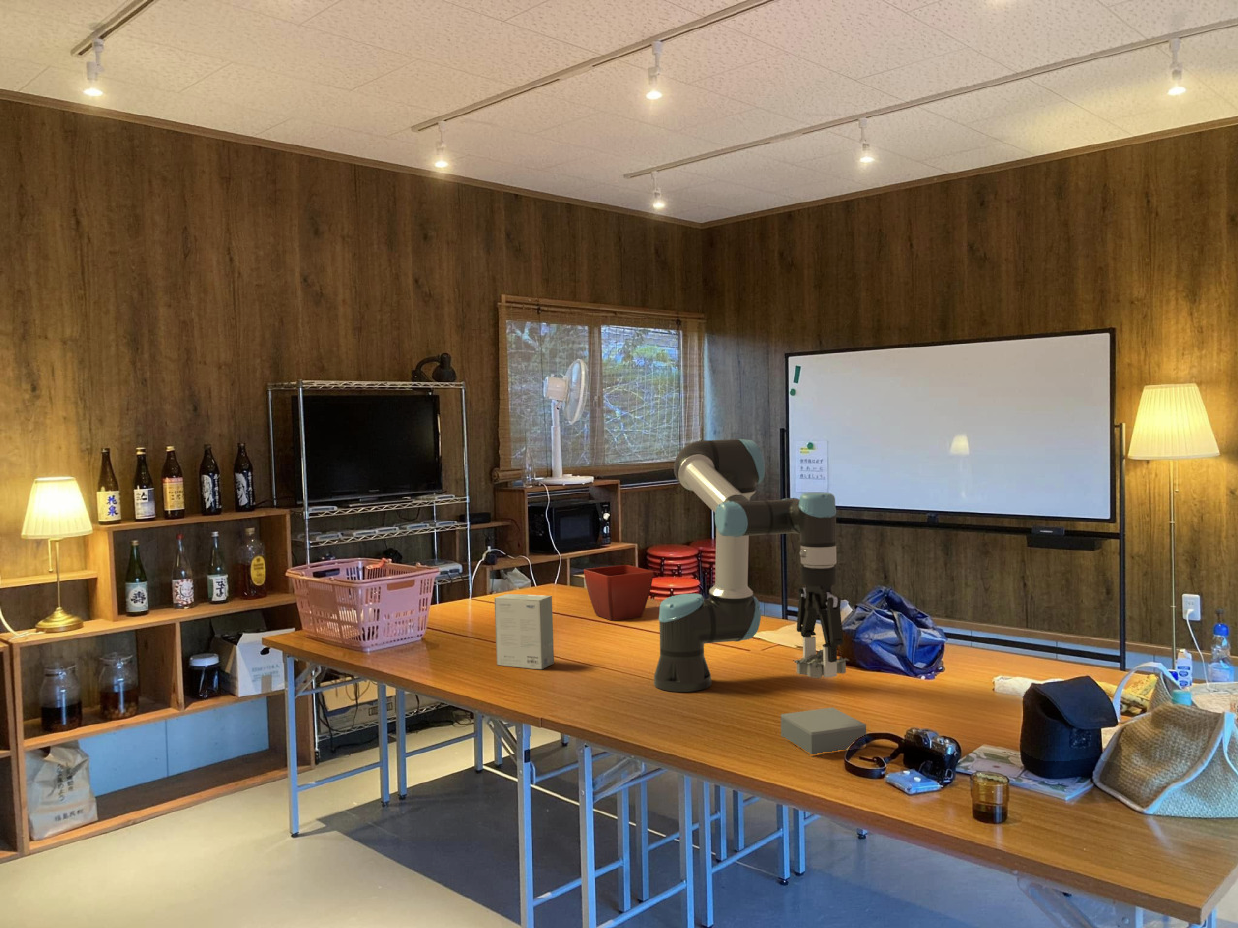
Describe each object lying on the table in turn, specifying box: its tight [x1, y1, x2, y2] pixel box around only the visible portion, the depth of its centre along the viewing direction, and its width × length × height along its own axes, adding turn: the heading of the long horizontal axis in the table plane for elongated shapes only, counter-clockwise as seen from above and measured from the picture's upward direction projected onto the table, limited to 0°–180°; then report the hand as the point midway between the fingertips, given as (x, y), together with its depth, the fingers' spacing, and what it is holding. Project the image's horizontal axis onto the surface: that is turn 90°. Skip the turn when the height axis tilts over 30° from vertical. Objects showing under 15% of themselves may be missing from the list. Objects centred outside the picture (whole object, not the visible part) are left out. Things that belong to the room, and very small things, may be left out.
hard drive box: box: [494, 593, 555, 670], centre depth 271 cm, size 16×8×20 cm, turn 65°
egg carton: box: [792, 649, 850, 679], centre depth 200 cm, size 11×8×4 cm
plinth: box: [780, 707, 867, 754], centre depth 200 cm, size 13×13×5 cm
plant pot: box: [583, 564, 654, 622], centre depth 337 cm, size 19×19×17 cm
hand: (819, 671), depth 200 cm, fingers closed on egg carton, 8 cm apart
